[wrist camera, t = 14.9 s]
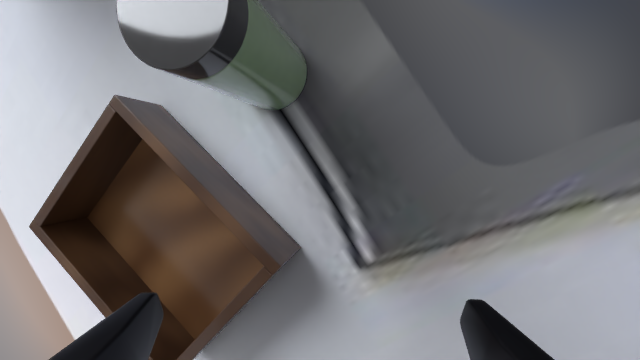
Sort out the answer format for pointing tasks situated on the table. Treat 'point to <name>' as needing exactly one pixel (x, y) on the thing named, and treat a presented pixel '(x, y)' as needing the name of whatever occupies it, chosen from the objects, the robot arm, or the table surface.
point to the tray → (160, 227)
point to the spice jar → (217, 47)
